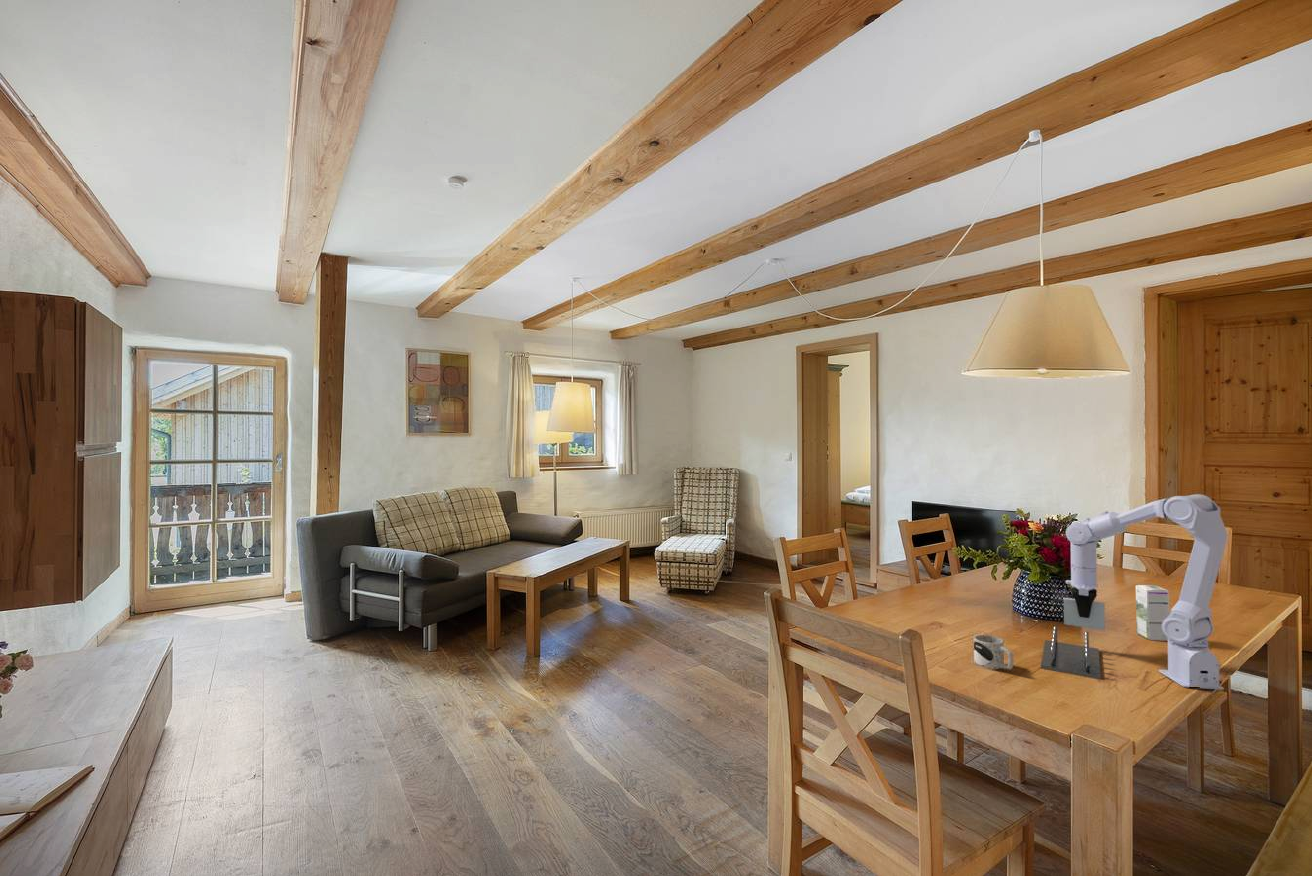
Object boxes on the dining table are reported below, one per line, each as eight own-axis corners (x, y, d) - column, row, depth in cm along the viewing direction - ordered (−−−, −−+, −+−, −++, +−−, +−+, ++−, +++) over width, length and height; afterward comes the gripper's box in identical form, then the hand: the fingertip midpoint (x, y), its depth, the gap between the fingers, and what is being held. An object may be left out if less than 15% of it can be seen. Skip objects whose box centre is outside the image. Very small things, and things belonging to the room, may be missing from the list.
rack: (1100, 679, 140) (1100, 657, 140) (1040, 668, 147) (1040, 647, 147) (1098, 651, 158) (1098, 632, 158) (1045, 642, 165) (1044, 624, 165)
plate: (1105, 630, 156) (1104, 603, 156) (1064, 624, 162) (1063, 599, 162) (1104, 628, 158) (1104, 602, 158) (1064, 622, 163) (1063, 597, 163)
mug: (968, 662, 152) (967, 636, 152) (986, 658, 154) (986, 633, 154) (1003, 676, 142) (1002, 649, 142) (1022, 672, 145) (1022, 645, 145)
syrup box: (1171, 641, 165) (1170, 590, 165) (1147, 640, 166) (1146, 589, 166) (1158, 634, 171) (1157, 585, 171) (1135, 633, 172) (1134, 584, 172)
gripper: (1066, 560, 168) (1067, 607, 168) (1064, 569, 156) (1065, 620, 156) (1097, 563, 164) (1097, 611, 164) (1097, 573, 152) (1098, 625, 152)
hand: (1084, 616), depth 160 cm, fingers closed on plate, 2 cm apart
